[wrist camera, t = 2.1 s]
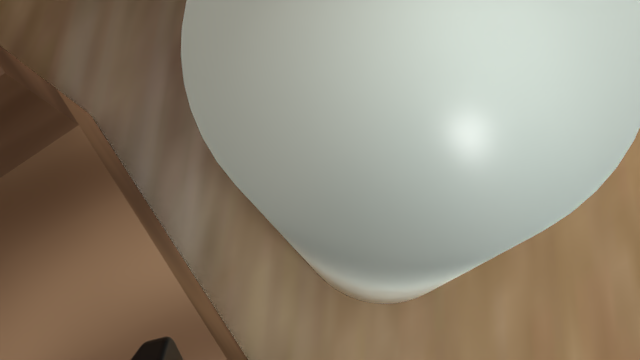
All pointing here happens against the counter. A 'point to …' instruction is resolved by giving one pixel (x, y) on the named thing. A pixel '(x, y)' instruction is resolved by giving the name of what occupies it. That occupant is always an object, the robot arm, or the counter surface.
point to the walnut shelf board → (85, 242)
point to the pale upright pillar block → (412, 124)
